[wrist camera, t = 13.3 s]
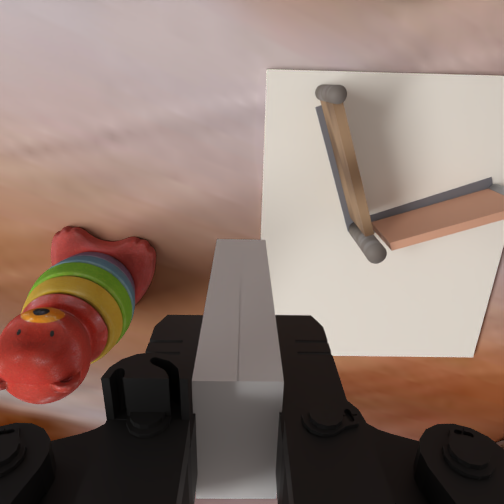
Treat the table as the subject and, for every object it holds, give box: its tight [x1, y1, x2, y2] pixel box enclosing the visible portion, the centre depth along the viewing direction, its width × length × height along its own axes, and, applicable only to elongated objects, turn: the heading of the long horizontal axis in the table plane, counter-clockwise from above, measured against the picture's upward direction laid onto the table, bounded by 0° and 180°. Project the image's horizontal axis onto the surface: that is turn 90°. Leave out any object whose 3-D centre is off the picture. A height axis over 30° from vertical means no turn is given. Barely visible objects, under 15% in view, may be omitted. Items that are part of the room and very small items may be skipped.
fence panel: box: [372, 184, 504, 251], centre depth 39 cm, size 13×1×7 cm, turn 107°
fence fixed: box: [315, 84, 387, 264], centre depth 37 cm, size 16×2×7 cm, turn 19°
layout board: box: [261, 69, 504, 357], centre depth 44 cm, size 31×26×1 cm
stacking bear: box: [0, 226, 156, 404], centre depth 37 cm, size 11×10×18 cm
